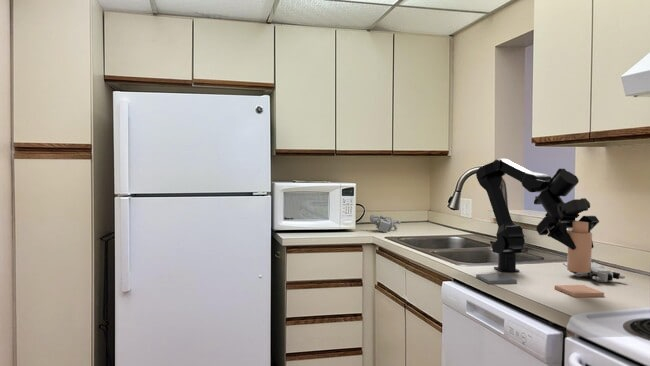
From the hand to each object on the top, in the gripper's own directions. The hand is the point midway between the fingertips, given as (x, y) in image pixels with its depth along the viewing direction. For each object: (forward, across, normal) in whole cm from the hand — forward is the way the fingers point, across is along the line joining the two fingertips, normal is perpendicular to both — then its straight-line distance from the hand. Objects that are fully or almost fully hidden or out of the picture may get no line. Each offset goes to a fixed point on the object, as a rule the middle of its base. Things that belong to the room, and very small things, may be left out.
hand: (583, 248), depth 132 cm
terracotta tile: (+8, 0, +10) cm, 13 cm away
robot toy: (0, +19, +19) cm, 27 cm away
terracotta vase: (+4, 0, +6) cm, 7 cm away
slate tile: (-5, -14, +24) cm, 28 cm away
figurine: (-87, +3, +107) cm, 138 cm away
